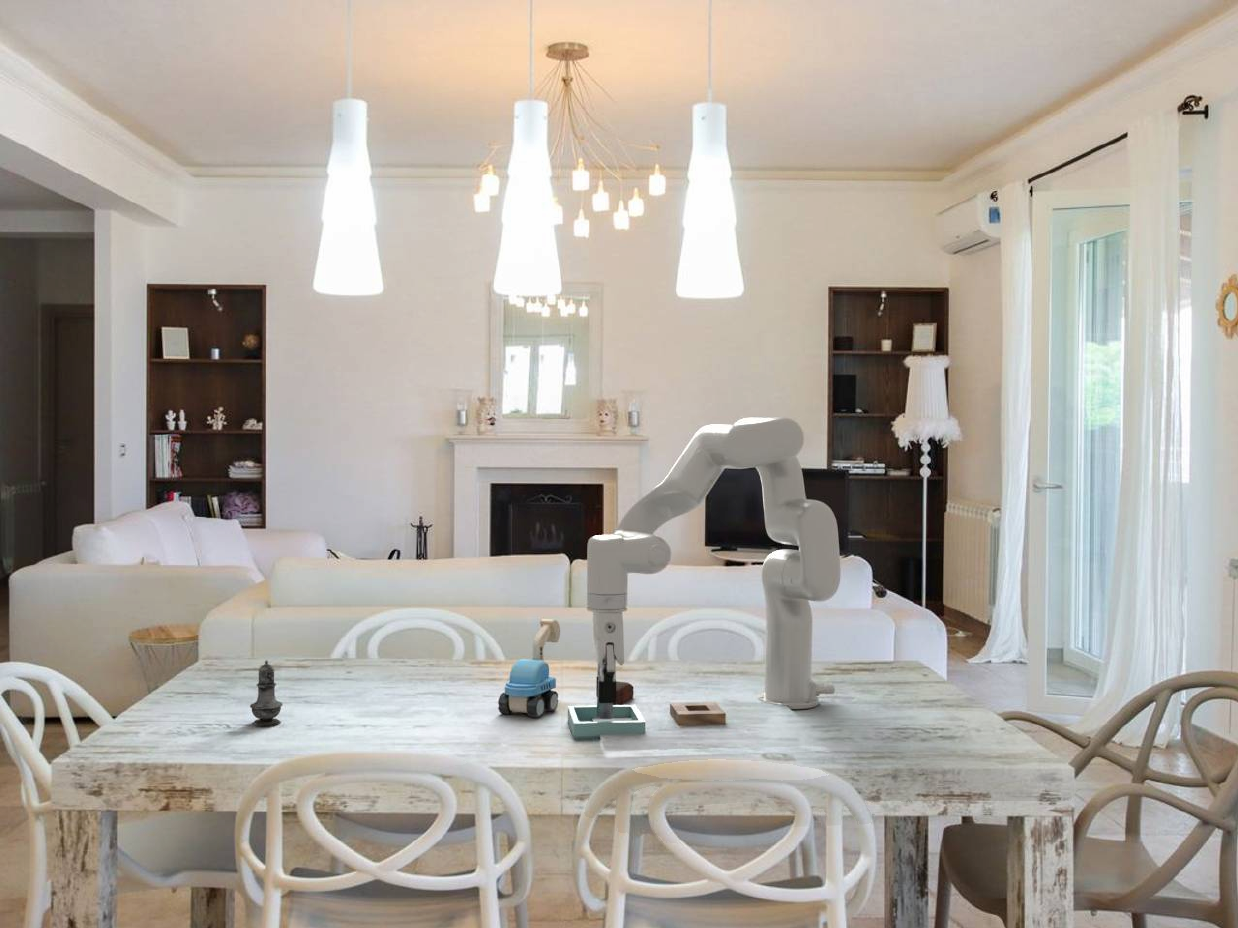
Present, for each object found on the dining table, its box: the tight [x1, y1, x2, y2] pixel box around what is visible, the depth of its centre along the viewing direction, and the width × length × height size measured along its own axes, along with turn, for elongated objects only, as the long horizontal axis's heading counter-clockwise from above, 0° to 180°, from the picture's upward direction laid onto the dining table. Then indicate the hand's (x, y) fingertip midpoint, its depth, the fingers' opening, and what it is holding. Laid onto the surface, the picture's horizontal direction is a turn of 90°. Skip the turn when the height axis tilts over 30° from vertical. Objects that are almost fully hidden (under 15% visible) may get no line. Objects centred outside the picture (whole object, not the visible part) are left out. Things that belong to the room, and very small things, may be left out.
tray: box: [567, 704, 646, 741], centre depth 216 cm, size 13×13×3 cm
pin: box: [596, 662, 614, 720], centre depth 216 cm, size 3×3×10 cm
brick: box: [613, 680, 635, 705], centre depth 233 cm, size 11×4×5 cm, turn 159°
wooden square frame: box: [669, 701, 727, 726], centre depth 221 cm, size 9×9×3 cm
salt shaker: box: [249, 659, 283, 728], centre depth 217 cm, size 6×6×12 cm
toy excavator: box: [497, 618, 561, 718], centre depth 231 cm, size 9×17×17 cm, turn 155°
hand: (606, 699), depth 216 cm, fingers open, 3 cm apart
